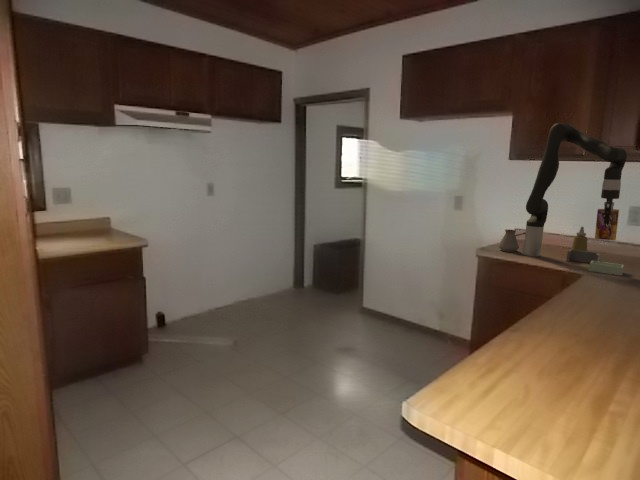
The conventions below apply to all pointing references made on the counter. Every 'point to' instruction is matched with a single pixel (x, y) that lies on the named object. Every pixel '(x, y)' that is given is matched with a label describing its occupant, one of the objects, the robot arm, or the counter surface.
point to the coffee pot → (509, 241)
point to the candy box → (606, 225)
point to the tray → (606, 267)
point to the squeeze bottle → (580, 241)
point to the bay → (582, 256)
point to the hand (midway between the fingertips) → (606, 223)
